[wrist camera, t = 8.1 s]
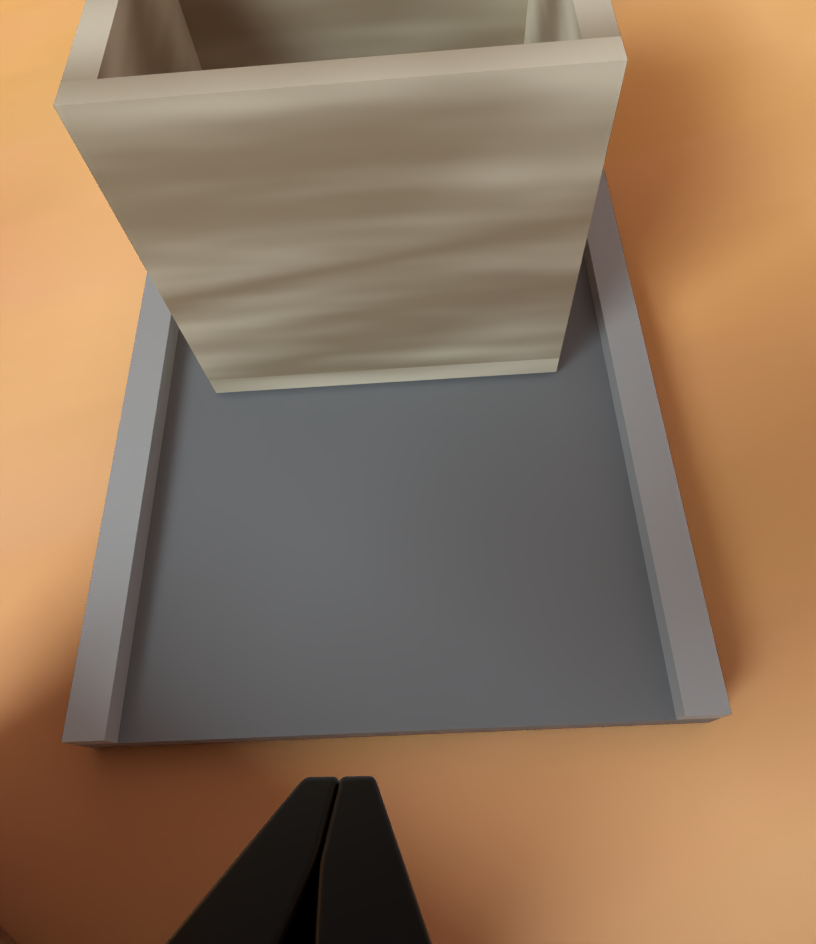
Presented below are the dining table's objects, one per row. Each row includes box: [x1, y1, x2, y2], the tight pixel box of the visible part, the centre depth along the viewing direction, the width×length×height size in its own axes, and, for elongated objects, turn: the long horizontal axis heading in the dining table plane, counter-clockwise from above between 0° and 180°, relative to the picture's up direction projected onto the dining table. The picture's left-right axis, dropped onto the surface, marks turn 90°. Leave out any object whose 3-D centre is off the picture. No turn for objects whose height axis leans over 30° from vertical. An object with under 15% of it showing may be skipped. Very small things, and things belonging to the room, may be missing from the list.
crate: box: [53, 0, 628, 393], centre depth 21 cm, size 9×12×11 cm
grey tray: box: [61, 167, 732, 748], centre depth 22 cm, size 22×18×7 cm
